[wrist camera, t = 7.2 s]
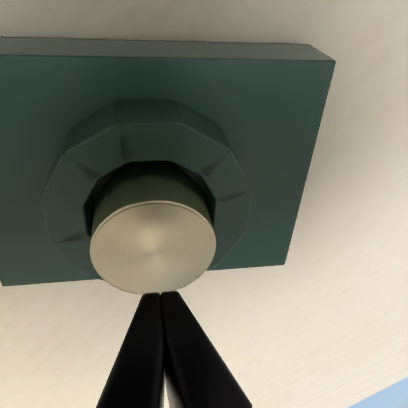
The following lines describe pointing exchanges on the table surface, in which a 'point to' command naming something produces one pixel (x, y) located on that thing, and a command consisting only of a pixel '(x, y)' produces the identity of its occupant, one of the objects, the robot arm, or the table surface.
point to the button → (151, 230)
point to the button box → (152, 141)
